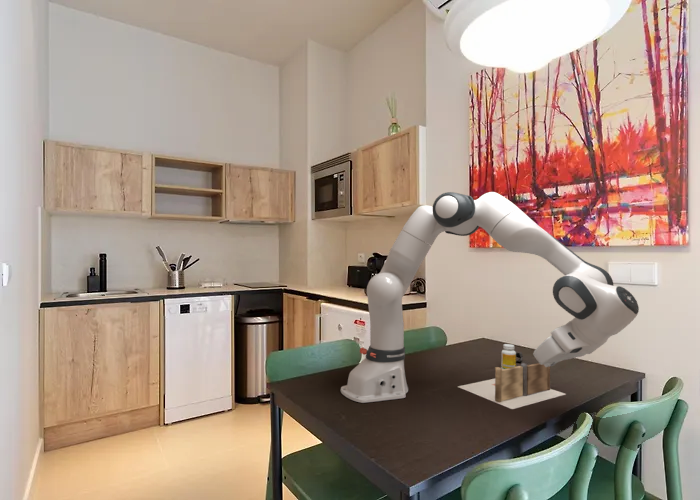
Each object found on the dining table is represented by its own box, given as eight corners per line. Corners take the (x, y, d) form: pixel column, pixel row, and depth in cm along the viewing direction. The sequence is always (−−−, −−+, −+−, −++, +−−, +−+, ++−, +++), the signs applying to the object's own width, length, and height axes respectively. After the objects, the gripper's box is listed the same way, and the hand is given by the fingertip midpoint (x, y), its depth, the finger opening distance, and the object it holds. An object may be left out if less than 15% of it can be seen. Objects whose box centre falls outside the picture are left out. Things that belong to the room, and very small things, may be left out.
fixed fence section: (524, 396, 128) (524, 364, 128) (519, 394, 129) (519, 363, 129) (551, 389, 134) (551, 359, 134) (546, 387, 136) (546, 358, 136)
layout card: (512, 410, 117) (512, 409, 117) (457, 387, 136) (457, 386, 136) (566, 395, 130) (566, 394, 130) (509, 376, 149) (509, 375, 149)
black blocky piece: (534, 363, 169) (534, 352, 169) (529, 367, 163) (529, 356, 163) (503, 358, 177) (503, 347, 177) (498, 361, 171) (498, 351, 171)
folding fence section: (498, 402, 122) (498, 368, 122) (493, 400, 123) (494, 367, 123) (523, 395, 127) (523, 363, 127) (518, 393, 129) (518, 362, 129)
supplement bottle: (499, 367, 160) (499, 343, 160) (512, 367, 161) (512, 343, 161) (504, 371, 155) (504, 346, 155) (518, 371, 155) (518, 346, 155)
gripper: (595, 323, 113) (562, 350, 121) (550, 329, 103) (516, 358, 111) (612, 342, 109) (576, 369, 117) (566, 351, 99) (531, 379, 107)
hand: (547, 364), depth 114 cm, fingers closed
